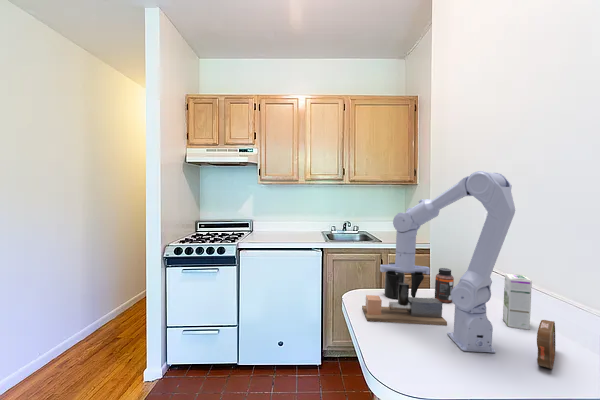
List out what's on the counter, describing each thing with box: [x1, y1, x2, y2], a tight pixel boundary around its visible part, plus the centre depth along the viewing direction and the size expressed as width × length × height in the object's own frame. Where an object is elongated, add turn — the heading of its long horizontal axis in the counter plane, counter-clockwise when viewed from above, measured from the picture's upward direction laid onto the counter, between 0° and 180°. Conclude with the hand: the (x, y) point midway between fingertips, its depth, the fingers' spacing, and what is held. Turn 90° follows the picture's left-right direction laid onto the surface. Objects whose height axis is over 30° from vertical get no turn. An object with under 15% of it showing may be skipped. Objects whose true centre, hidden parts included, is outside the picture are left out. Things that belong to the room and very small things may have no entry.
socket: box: [364, 294, 383, 315], centre depth 100 cm, size 4×4×4 cm
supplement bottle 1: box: [384, 262, 406, 300], centre depth 119 cm, size 7×7×12 cm
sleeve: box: [408, 296, 443, 318], centre depth 100 cm, size 4×9×4 cm, turn 87°
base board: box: [362, 305, 448, 326], centre depth 100 cm, size 10×23×1 cm, turn 87°
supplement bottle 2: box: [434, 267, 455, 304], centre depth 116 cm, size 6×6×11 cm
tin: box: [536, 319, 556, 370], centre depth 77 cm, size 15×3×8 cm, turn 139°
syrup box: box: [502, 273, 533, 331], centre depth 97 cm, size 6×6×14 cm
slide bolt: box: [388, 282, 411, 311], centre depth 100 cm, size 3×13×8 cm, turn 88°
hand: (403, 295), depth 100 cm, fingers open, 5 cm apart
